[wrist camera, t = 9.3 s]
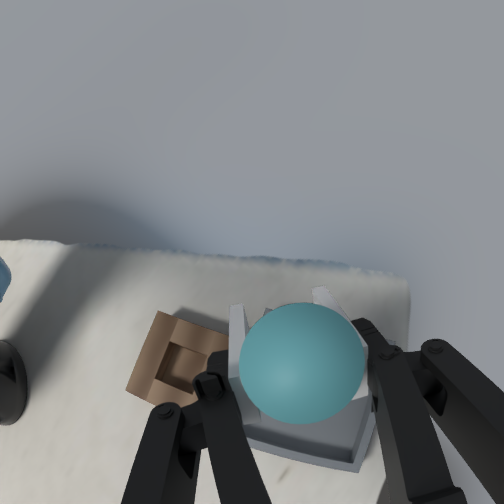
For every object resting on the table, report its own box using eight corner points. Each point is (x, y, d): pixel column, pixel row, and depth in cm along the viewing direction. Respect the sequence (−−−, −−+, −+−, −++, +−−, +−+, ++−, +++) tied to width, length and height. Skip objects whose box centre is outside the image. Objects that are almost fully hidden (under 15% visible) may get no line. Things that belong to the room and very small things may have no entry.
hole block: (137, 392, 36) (125, 390, 33) (167, 318, 40) (158, 310, 37) (214, 426, 33) (208, 428, 30) (244, 345, 38) (240, 339, 35)
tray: (224, 434, 33) (219, 436, 29) (267, 316, 39) (265, 307, 36) (351, 467, 29) (358, 473, 26) (386, 347, 36) (395, 341, 33)
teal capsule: (256, 405, 19) (220, 401, 9) (274, 353, 21) (262, 289, 11) (312, 422, 18) (344, 437, 8) (329, 368, 20) (376, 319, 10)
